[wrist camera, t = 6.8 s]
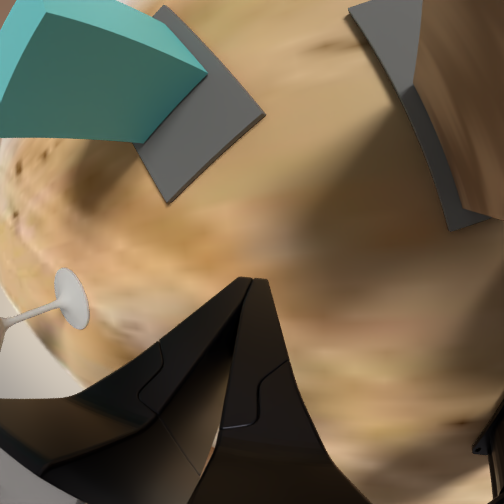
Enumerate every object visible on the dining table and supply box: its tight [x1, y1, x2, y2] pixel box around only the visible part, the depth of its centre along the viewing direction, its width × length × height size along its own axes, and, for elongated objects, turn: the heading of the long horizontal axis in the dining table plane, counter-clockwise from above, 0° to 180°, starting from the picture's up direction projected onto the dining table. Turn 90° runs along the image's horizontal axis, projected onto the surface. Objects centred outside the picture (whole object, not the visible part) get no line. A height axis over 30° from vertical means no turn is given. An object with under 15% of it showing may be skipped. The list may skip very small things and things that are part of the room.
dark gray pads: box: [132, 0, 493, 232], centre depth 14 cm, size 18×44×1 cm, turn 82°
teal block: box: [0, 0, 208, 143], centre depth 14 cm, size 7×7×12 cm
